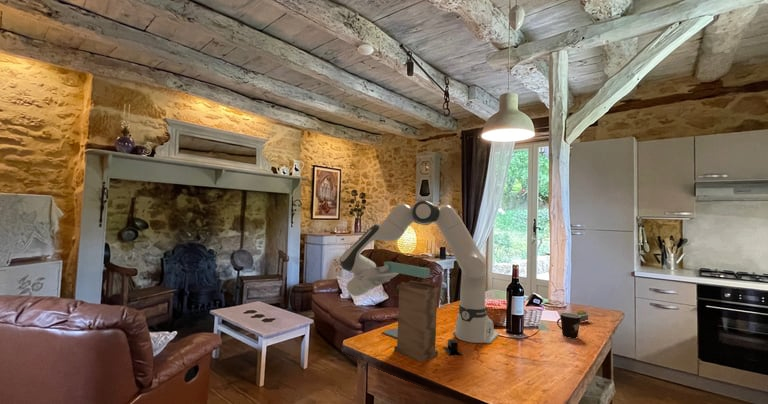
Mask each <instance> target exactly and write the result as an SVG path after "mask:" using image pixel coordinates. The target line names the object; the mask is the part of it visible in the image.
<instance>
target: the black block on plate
mask: <svg viewBox="0 0 768 404" xmlns="http://www.w3.org/2000/svg"><path fill="white" fill-rule="evenodd" d="M458 345H459V344H458V341H457V340H456V339H453V338H452V339H447V346H442V348H443V349H444V350H445V351H446V353H447V354H448V356H451V357H452V356H456V357H457V356H458V357H462V356H464V355H463V354H462V353H461V350H459V349H458V347H459V346H458Z"/></svg>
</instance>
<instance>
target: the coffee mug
mask: <svg viewBox="0 0 768 404" xmlns="http://www.w3.org/2000/svg"><path fill="white" fill-rule="evenodd" d="M559 315H560V318H558V319H557V322H556V324H557V326H558V328H560V329H561V331H562V332H561V333H562V334H563V335H564V336H563V335H562V334H561V335H562V336H563V337H565V336H566V337H565V338H568V337H571V338H570V339H577V338H578V337H579V336H578V335H579V329H580V324H581V323H580V317H581V316H579V315H577V314H575V313H571V312H561V313H560V314H559ZM560 322H561V323H560ZM559 323H560V324H561V326H560V324H559ZM576 337H577V338H576Z"/></svg>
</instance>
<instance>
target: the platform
mask: <svg viewBox="0 0 768 404" xmlns="http://www.w3.org/2000/svg"><path fill="white" fill-rule="evenodd" d="M574 314H577V315H579V316H581V317H580V322H581V321H585V320H588V321H589V316H591V313H590V312H587V310H583V309H582V310H576V312H575V313H574Z"/></svg>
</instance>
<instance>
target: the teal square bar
mask: <svg viewBox="0 0 768 404" xmlns="http://www.w3.org/2000/svg"><path fill="white" fill-rule="evenodd" d="M385 265H390V267H391V268H390V269H388V270H386V271H391V272H396V273H399V274H401V275H405V276H412V277H417V278H421V279H428V278H431V268H429V267H424V266H417V265H412V264H407V263H399V262H394V261H384V262H383V266H385Z"/></svg>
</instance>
